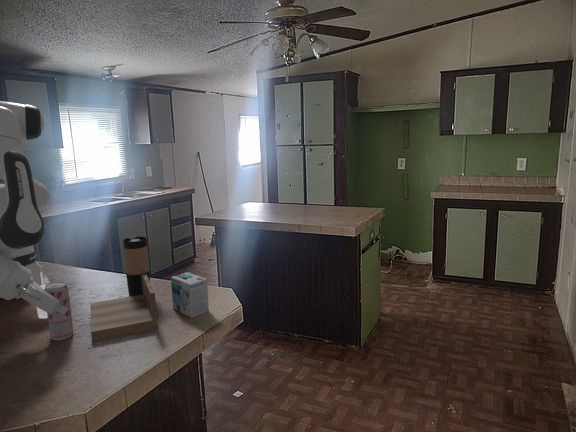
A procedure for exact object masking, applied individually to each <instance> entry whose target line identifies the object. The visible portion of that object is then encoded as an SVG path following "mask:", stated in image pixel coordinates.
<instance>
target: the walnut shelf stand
mask: <svg viewBox="0 0 576 432" xmlns="http://www.w3.org/2000/svg"><path fill="white" fill-rule="evenodd" d="M141 277H142V289H143V294H142V295H136V296H130V297H129V296H125V297H120V298H119V297H118V298H112V299H108V300H107V299H106V300H102V301H96V302H90V303H89V305H90V306H89V308H90V334H91V342H92V343H96V342H101V341H107V340H112V339H117V338H121V337H125V336H131V335H135V334H140V333H146V332H149V331H157V330H158V329H159V328H158V317H157V306H156V305H157V302H156V294H155V290H154V287H153V286H152V283H151V280H150V281H149V279H148V277H147V274H146V272H145V271H141Z"/></svg>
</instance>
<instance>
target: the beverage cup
mask: <svg viewBox="0 0 576 432" xmlns="http://www.w3.org/2000/svg"><path fill="white" fill-rule="evenodd" d="M42 272H43V271H42ZM42 272H40V275H41V282H42V285H41V287H42V288H43V289H44V290H45V288H44V287H45V286H46V285H44V283H43V276H42ZM35 307H36V306H35ZM36 312H37V317H38V318H39V319H48V315H47V312H45V311H43V310H41V309H40V308H38V307H36Z"/></svg>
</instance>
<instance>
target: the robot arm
mask: <svg viewBox="0 0 576 432" xmlns="http://www.w3.org/2000/svg"><path fill="white" fill-rule="evenodd" d="M44 119H45V118H44V116H43V114H42V112H41V110H40V109H39V108H38V107H37V106H35V105H31V104H27V103H25V104H22V103H16V102H13V101H3V100H0V179H1V180H3V182H4V183H0V299H4V300H5V301H11V300H13V299H16V300H18V299H23V300H24V301H26V302H27V303H29V304H30V305H33V307H38V308H40V309H41V310H43V311H45V312H47V313H52V312H53V311H56V312H59V313H61V314H65V313H66V311H67V310H68V309H67V308H66V307H65V306H63V305H61V304H59V303H60V302H59V301H58V300H57V299H56V298H55V297H53V296H52V295H51V294H50V293H48V292H47V291H45V290H44V289H43V288H42V287H41V285H42V282H41V275H40V272H42V276H43V283H44V285H47V284H50V283H51V282H50V280H49V278H48V277H47V275H46V274H45V273H43V266H41V264H40V263H39V262H38V261H37V260H38V258H37V252H36V250H35V249H34V246H35V245H37V244H38V243H39V242H40V241H41V240H42V239H43V237H44V235H45V231H46V230H45V228H46V227H45V226H46V225H45V222H44V218H43V216H42V214H41V212H40V211H42V210H45V209H47V207H48V206H49V204H50V201H51V193H50V191H49V188H48V187H47V186H46V185H45V184H44V183H42V182H40V181H38V180H36V179H35V178H33V175H32V174H33V173H32V169H31V165H30V163H29V160H28V158H27V156H26V153H25V152H26V151H25V141H24V139H25V140H27V141H29V140H36V139H38V138H39V137H41V136H42V133H43V131H44V128H45V120H44Z"/></svg>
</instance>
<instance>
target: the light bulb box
mask: <svg viewBox="0 0 576 432" xmlns="http://www.w3.org/2000/svg"><path fill="white" fill-rule="evenodd" d="M170 281H171V282H170V283H171V294H172V295H171V297H172V299H171V300H172V309H174V310H175V311H177V312H179V313H181V314H183V315H185V316H187V317H189V318H195V317H197V316H200V315H203V314H206V313H208V312H209V292H208V290H209V289H208V279H207V278H205V277H202V276H200V275H197V274H194V273H192V272H189V271H188V272H184V273H179V274H177V275H174V276H171V277H170ZM205 312H206V313H205Z"/></svg>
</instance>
